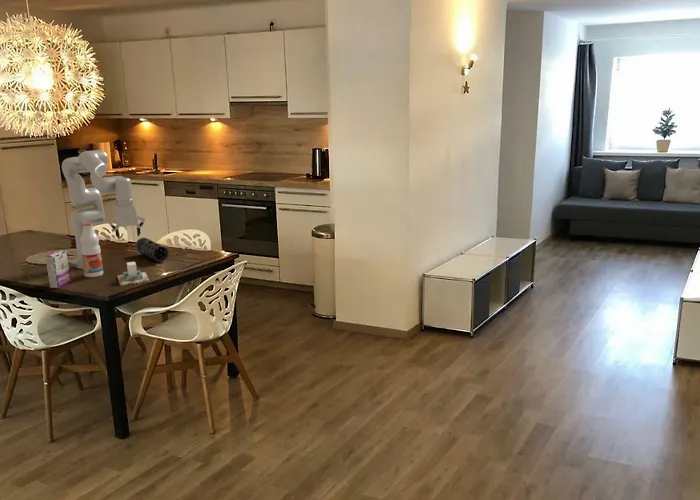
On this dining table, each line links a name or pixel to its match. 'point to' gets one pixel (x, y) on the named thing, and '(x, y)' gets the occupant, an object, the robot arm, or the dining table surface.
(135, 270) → the block
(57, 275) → the candy bar box
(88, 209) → the robot arm
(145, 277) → the holder
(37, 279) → the dining table surface
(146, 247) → the muzzle brake
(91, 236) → the fruit juice
